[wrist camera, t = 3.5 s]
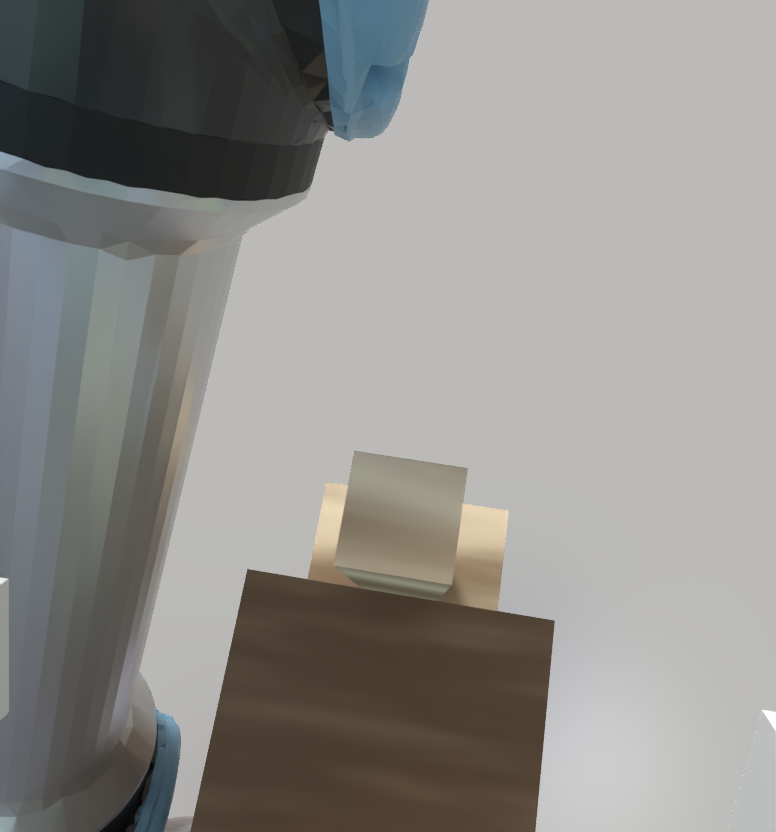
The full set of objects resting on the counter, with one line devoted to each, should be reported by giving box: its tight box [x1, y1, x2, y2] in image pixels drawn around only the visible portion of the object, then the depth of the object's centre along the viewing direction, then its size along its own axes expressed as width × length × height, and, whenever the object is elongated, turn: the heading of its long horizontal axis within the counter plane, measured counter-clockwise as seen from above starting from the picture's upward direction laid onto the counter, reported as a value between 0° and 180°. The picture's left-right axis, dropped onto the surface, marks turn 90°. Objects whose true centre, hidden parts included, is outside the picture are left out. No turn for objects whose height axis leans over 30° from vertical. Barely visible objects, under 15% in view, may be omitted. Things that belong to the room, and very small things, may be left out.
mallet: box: [308, 451, 509, 611], centre depth 28 cm, size 21×9×5 cm, turn 178°
